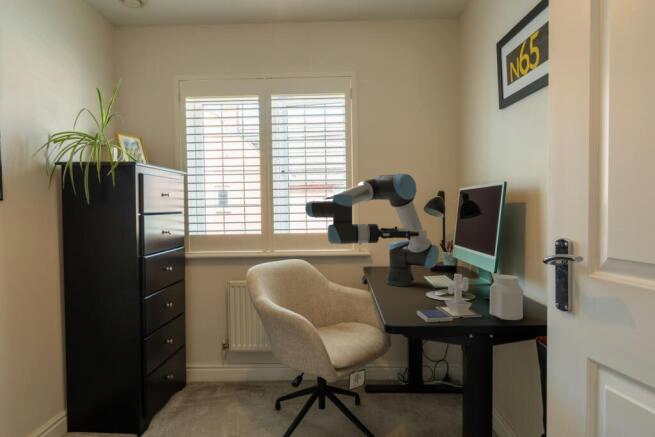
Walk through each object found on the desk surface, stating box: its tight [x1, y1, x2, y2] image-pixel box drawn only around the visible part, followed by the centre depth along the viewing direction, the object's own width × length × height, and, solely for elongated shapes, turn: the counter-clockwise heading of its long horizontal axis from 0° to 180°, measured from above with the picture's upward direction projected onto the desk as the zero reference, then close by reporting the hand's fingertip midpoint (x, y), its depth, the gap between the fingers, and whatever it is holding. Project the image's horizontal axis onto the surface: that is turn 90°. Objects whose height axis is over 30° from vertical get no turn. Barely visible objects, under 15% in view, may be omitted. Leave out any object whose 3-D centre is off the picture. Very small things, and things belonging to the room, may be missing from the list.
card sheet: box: [435, 305, 483, 319], centre depth 143 cm, size 14×12×1 cm
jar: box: [489, 274, 524, 321], centre depth 137 cm, size 12×10×15 cm
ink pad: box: [416, 309, 454, 323], centre depth 136 cm, size 10×10×2 cm
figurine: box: [444, 273, 473, 313], centre depth 142 cm, size 7×9×15 cm
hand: (419, 232), depth 142 cm, fingers open, 13 cm apart
